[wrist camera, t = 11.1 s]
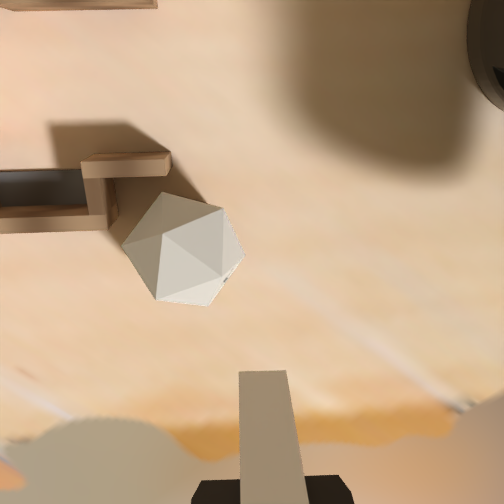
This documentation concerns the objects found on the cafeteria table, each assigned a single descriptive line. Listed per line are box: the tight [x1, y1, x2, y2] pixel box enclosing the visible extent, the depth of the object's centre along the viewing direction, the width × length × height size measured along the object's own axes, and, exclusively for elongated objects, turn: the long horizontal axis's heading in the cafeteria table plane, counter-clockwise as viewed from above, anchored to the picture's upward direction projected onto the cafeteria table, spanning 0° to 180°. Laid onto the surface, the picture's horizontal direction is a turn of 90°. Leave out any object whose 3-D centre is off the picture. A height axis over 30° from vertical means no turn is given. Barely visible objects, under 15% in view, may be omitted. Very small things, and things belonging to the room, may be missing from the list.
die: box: [121, 192, 245, 306], centre depth 34 cm, size 8×9×10 cm
